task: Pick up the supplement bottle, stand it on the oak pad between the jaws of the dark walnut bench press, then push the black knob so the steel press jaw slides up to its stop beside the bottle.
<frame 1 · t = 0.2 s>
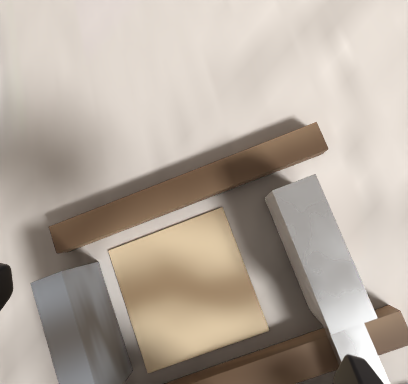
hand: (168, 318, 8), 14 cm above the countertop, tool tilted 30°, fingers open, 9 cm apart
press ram: (358, 345, 17), point 5 cm above the countertop, slide at 0.0 cm
press base: (218, 276, 22), on the countertop
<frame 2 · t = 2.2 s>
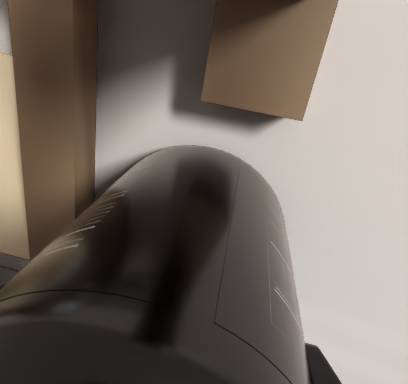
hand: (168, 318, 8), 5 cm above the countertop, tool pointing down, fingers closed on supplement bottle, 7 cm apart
supplement bottle: (200, 221, 13), on the countertop, touching gripper
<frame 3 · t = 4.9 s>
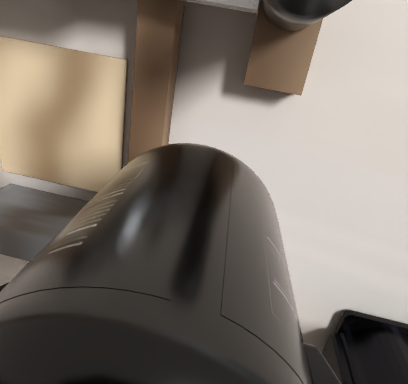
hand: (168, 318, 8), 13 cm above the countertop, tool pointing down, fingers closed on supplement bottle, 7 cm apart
supplement bottle: (193, 218, 13), point 8 cm above the countertop, touching gripper
press base: (56, 81, 20), on the countertop
when the fingers open (6 cm above the countertop, at t = 7.8 s): supplement bottle stays where it is, resting on press base.
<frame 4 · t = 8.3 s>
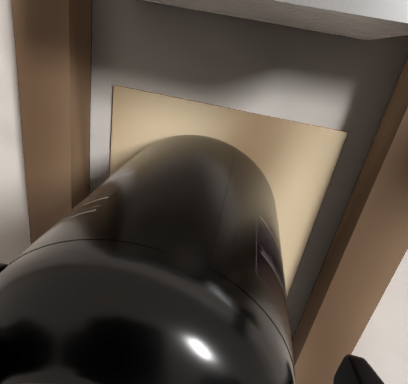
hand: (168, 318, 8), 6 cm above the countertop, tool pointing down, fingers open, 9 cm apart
supplement bottle: (198, 206, 14), resting on press base
press base: (217, 157, 13), on the countertop
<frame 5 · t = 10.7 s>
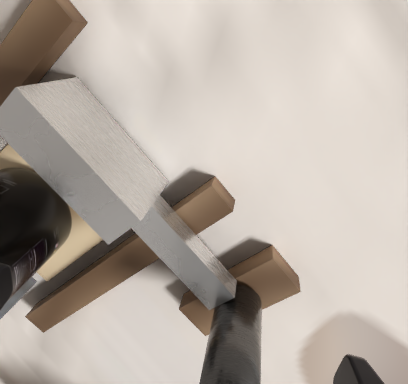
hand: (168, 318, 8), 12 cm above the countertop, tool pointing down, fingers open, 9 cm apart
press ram: (145, 242, 17), point 5 cm above the countertop, slide at 0.0 cm
supplement bottle: (34, 208, 23), resting on press base
press base: (56, 195, 22), on the countertop
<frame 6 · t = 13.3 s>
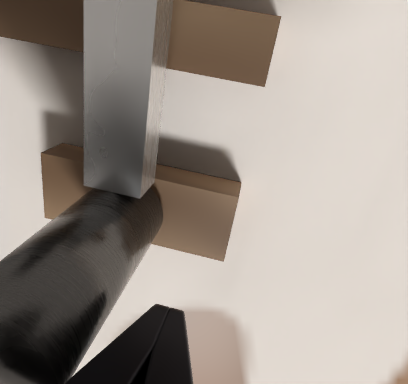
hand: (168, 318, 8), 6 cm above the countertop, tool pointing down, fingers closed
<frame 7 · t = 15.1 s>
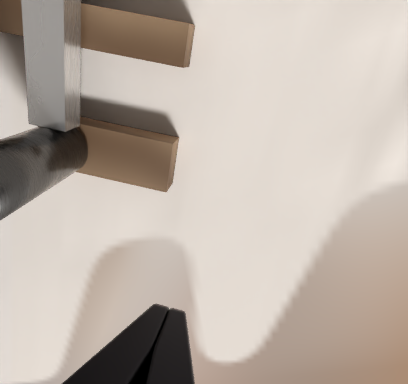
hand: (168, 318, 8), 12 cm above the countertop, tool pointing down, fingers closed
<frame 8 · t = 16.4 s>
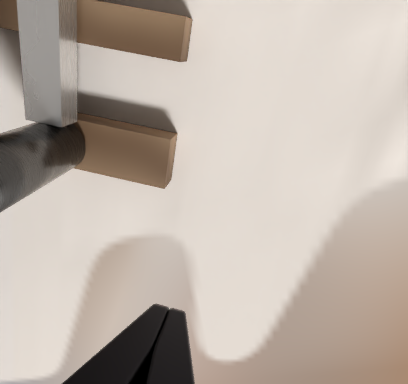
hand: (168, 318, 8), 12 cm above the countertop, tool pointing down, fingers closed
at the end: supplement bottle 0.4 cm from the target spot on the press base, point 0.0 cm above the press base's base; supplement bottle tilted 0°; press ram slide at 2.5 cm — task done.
